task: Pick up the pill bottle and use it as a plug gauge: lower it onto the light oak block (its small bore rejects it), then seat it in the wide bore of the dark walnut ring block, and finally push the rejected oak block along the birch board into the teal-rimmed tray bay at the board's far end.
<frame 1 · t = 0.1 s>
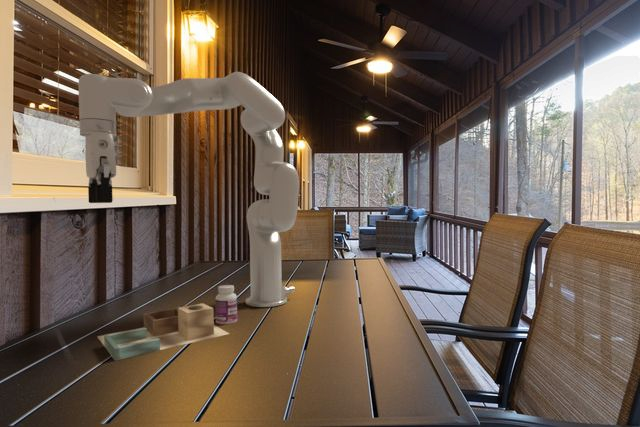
hand: (100, 202, 95), 31 cm above the table, fingers open, 9 cm apart
oak block: (196, 333, 93), point 1 cm above the table, touching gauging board
pill bottle: (226, 324, 103), on the table
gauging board: (163, 338, 92), on the table
walnut ring block: (166, 328, 97), point 1 cm above the table, touching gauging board
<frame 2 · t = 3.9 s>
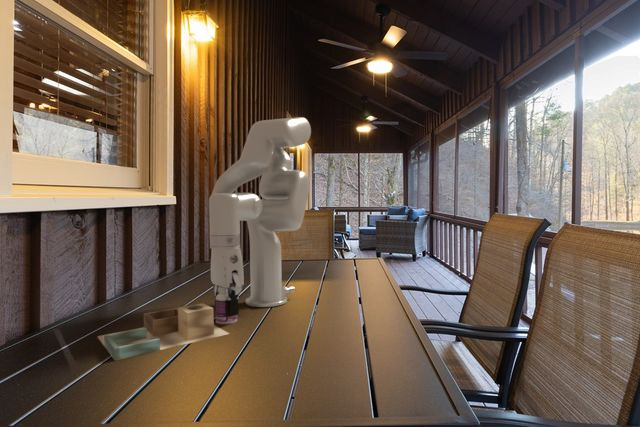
hand: (226, 312, 103), 3 cm above the table, fingers closed on pill bottle, 5 cm apart
pill bottle: (226, 324, 103), on the table, touching gripper
everything else where it was.
when the fingers open (5 cm above the table, at t = 10.0 s): pill bottle drops 1 cm, resting on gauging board.
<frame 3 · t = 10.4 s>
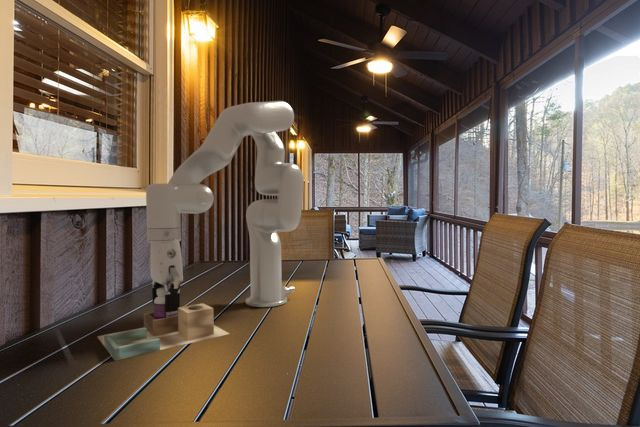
hand: (165, 306, 97), 6 cm above the table, fingers open, 9 cm apart
oak block: (196, 333, 93), point 1 cm above the table, touching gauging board, gripper
pill bottle: (166, 329, 97), point 1 cm above the table, touching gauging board
everything else where it was.
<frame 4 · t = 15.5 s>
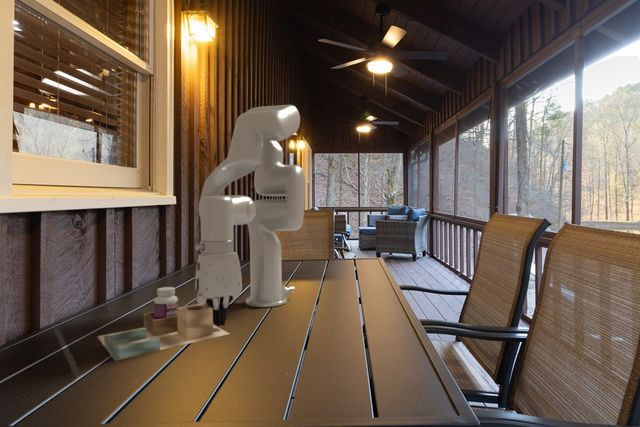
hand: (219, 324, 96), 2 cm above the table, fingers closed
nothing on the table moved.
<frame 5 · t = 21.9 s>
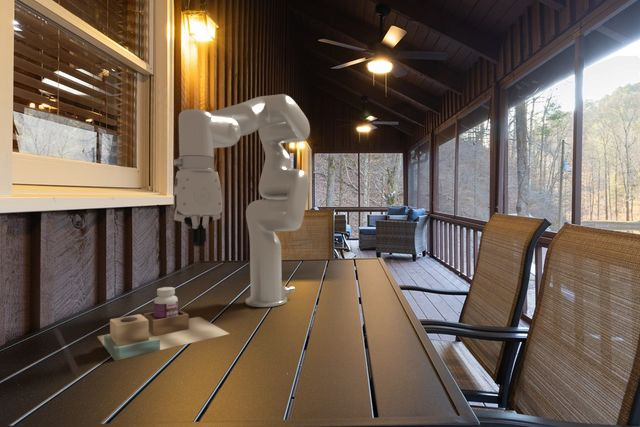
hand: (198, 245, 93), 21 cm above the table, fingers closed
oak block: (129, 348, 84), point 1 cm above the table, touching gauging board
everything else where it was.
at the end: oak block inside the target area (0.5 cm from its centre), point 0.8 cm above the table; pill bottle 0.2 cm from the walnut ring block (horizontally); the gripper is holding nothing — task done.
